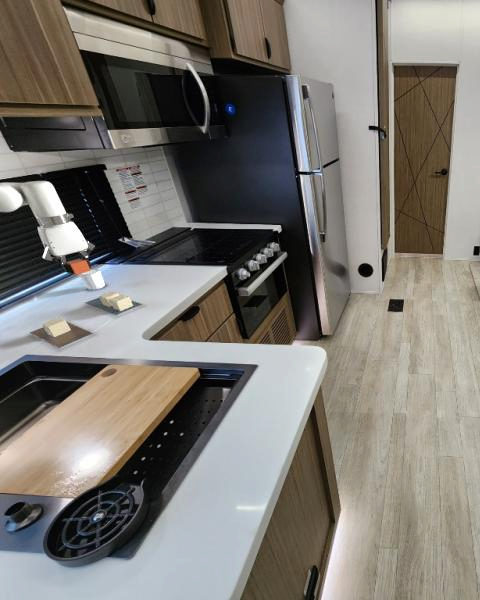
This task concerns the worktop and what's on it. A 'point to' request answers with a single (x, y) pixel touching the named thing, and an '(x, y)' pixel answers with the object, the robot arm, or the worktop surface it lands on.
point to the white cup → (92, 279)
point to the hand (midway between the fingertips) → (79, 270)
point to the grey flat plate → (99, 304)
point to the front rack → (62, 335)
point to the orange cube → (79, 266)
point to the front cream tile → (56, 327)
